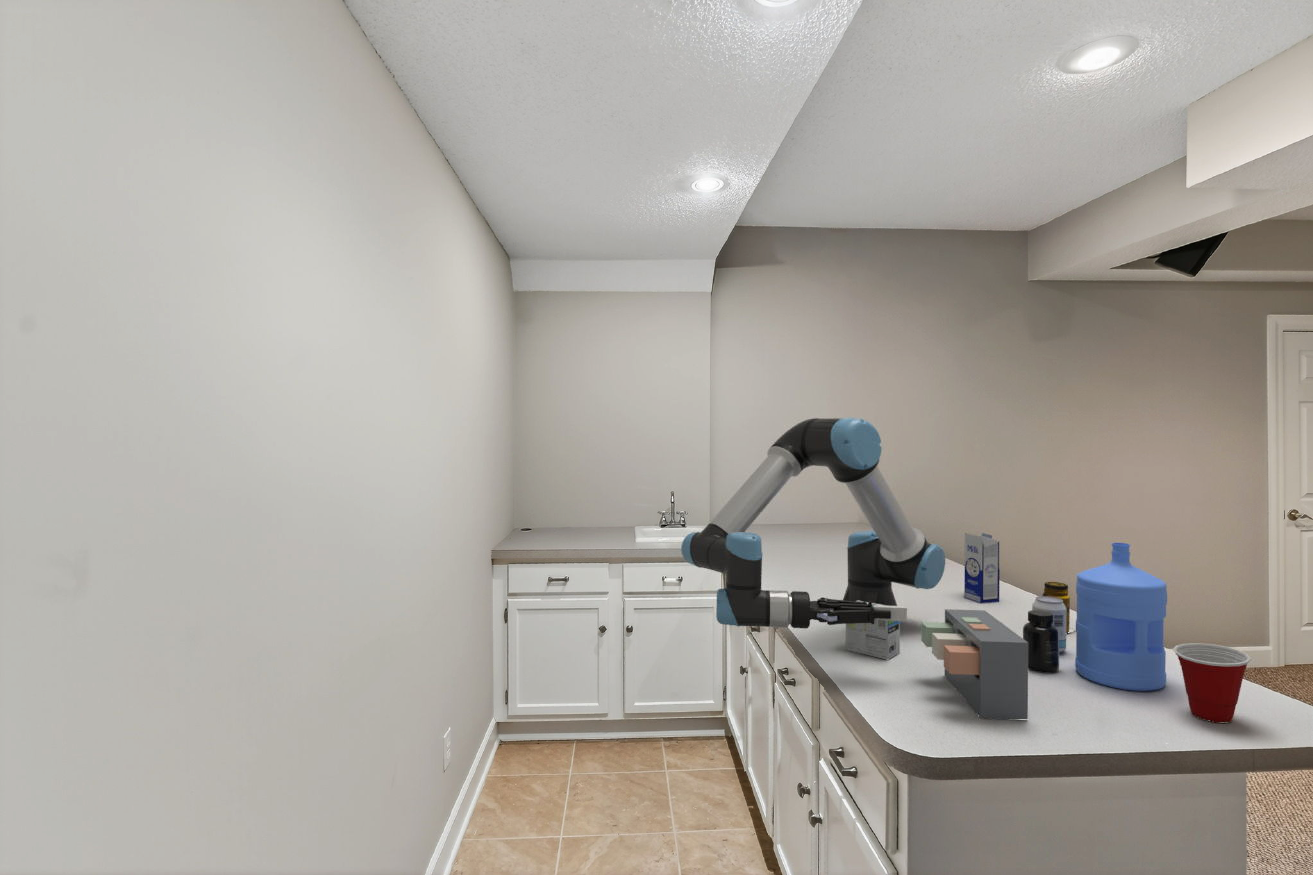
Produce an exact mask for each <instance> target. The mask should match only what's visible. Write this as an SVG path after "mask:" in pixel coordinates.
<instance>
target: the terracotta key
mask: <svg viewBox="0 0 1313 875" xmlns="http://www.w3.org/2000/svg"><path fill="white" fill-rule="evenodd" d="M943 668H944V670H945V669H946V670H947V671H948V672H949V673H950V674H966V675H979V670H980V648H979V647H978V646H950V645H944V660H943Z"/></svg>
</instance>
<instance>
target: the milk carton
mask: <svg viewBox="0 0 1313 875" xmlns="http://www.w3.org/2000/svg"><path fill="white" fill-rule="evenodd" d="M1000 543H1001V541H1000V540H997V539H993V535H992V534H988V533H985V532H982V533H981V535H977V534H973V533H964V591H963V592H964V596H963V597H964V599H967V600H970V601H972V602H975V603H979V604H987V603H988V604H989V603H999V602H1000V580H1001V579H1000V576H1001V575H1000V574H1001V572H1000V571H1001V570H1000V561H1001V560H1000V558H1001V556H1000V555H1001V554H1000V553H1001V550H1000V549H1001V544H1000Z"/></svg>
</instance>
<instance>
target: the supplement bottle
mask: <svg viewBox="0 0 1313 875" xmlns="http://www.w3.org/2000/svg"><path fill="white" fill-rule="evenodd" d="M1027 621H1028V622H1026V623H1025V624H1024V625H1023V627H1022V638H1023V639H1024V640H1025V641H1027V642H1028V670H1030V671H1033V672H1037V673H1047V674H1048V673H1049V674H1051V673H1057V672H1058V671H1059V669H1060V653H1059V631H1058V629H1057V628H1056V627H1055V626H1053V625H1052V624H1053V623H1054V620H1053V614H1052V613H1050V612H1046V611H1039V610H1028V611H1027Z"/></svg>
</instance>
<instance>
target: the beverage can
mask: <svg viewBox="0 0 1313 875" xmlns="http://www.w3.org/2000/svg"><path fill="white" fill-rule="evenodd" d="M1031 609H1032V610H1039V611H1046V612H1050V613H1052V614H1053V620H1054V623H1053V624H1052V625H1053V626H1055V627H1056V628H1057V629H1058V631H1059V654H1061V653H1062V652H1063V651H1066V650H1067V634H1066V607H1065V605H1064V603H1063V600H1062V599H1059V598H1055V597H1048V596H1043V595H1042V596H1040V595H1039V596H1036V597H1035V600H1034V602H1032V607H1031Z"/></svg>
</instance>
